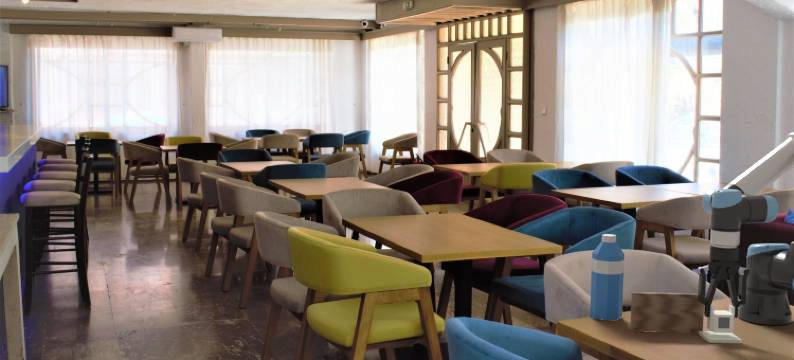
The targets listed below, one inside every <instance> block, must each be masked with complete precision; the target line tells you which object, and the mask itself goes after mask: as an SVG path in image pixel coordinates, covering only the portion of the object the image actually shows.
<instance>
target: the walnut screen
mask: <svg viewBox="0 0 794 360" xmlns="http://www.w3.org/2000/svg"><path fill="white" fill-rule="evenodd" d="M630 303H631V304H630V321H629V322H630V327H629V329H631V330H630V332H634V331H635V332H644V331H656V332H655V333H676V334H677V333H683V334H687V333H688V334H692V335H699V331H704V318H705V317H704V316H705V315H704V304H702V303H700V302H699V301H698V292H697V293H695V292H694V293H693V292H692V293H689V292H688V293H687V292H653V291H652V292H649V291H647V292H646V291H631V301H630ZM635 332H634V333H635ZM644 333H645V332H644Z"/></svg>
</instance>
